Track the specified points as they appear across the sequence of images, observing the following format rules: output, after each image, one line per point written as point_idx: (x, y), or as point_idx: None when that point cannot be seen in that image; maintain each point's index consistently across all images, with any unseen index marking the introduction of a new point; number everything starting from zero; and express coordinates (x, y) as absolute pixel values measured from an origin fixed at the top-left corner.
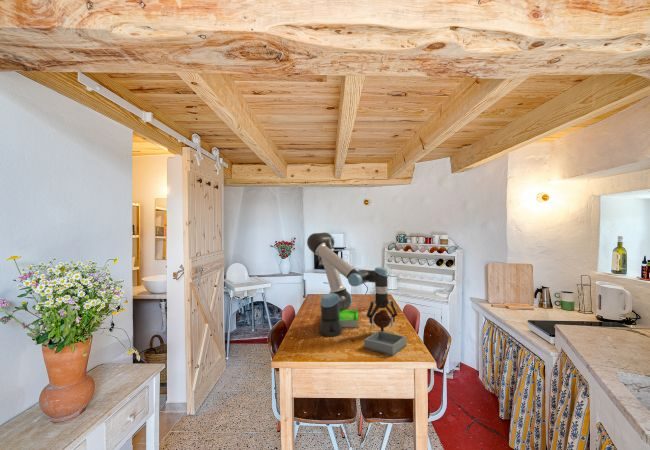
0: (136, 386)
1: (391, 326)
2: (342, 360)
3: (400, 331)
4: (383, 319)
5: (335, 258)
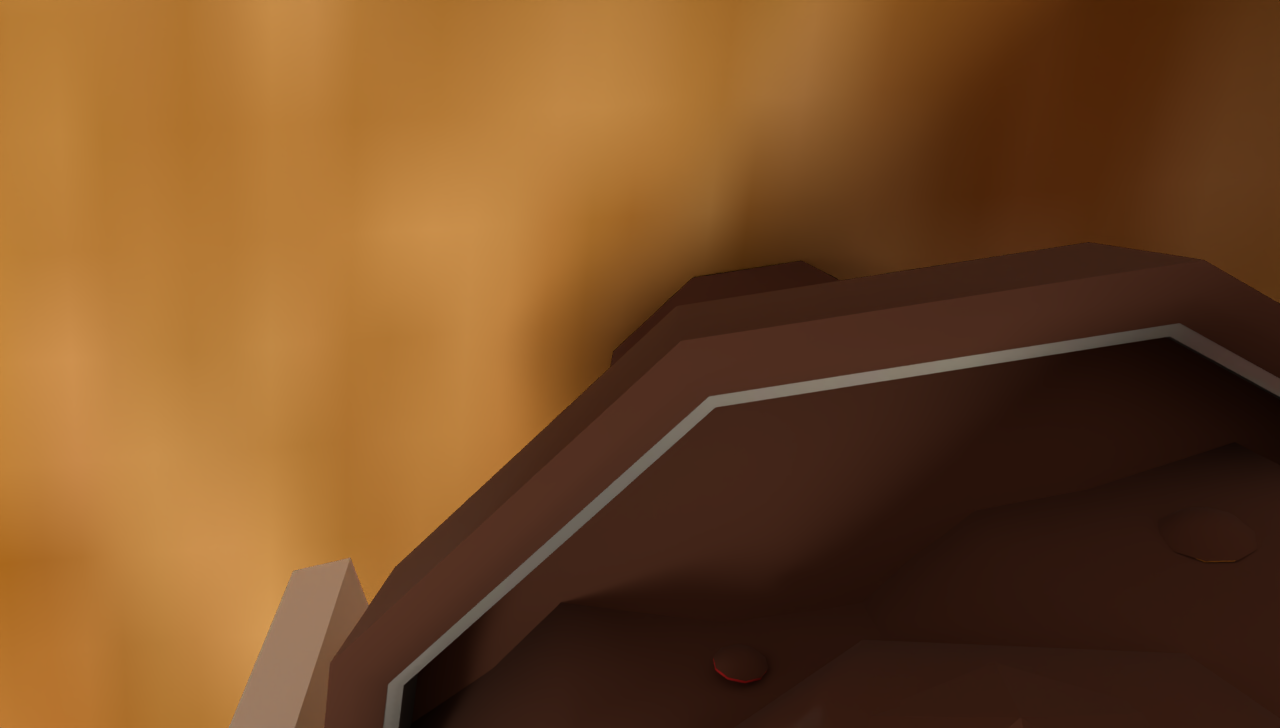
0: None
1: None
2: None
3: (86, 715)
4: (954, 621)
5: None
